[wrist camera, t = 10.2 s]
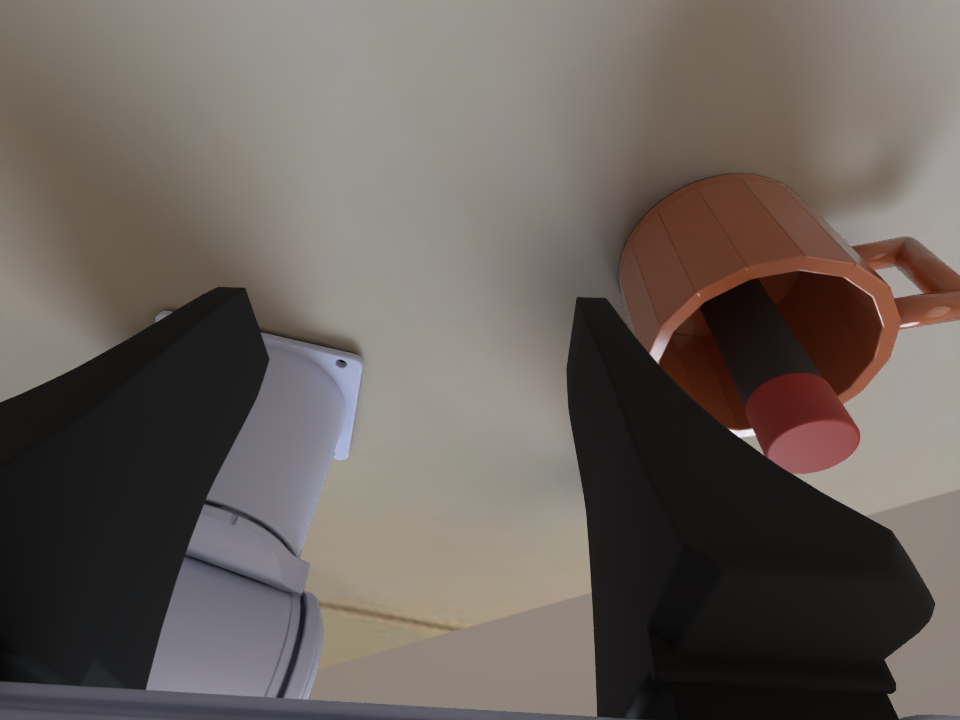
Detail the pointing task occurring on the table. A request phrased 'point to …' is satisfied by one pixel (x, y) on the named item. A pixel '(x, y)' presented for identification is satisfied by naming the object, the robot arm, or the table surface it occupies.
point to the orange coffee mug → (770, 286)
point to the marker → (779, 382)
